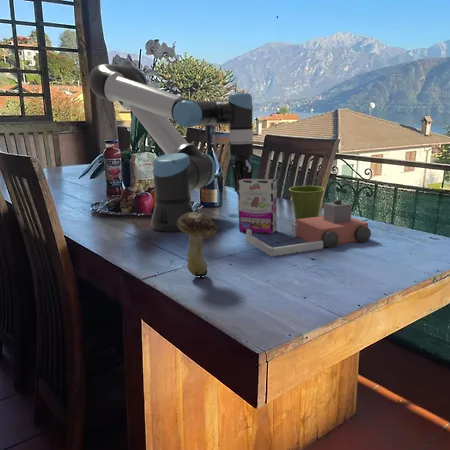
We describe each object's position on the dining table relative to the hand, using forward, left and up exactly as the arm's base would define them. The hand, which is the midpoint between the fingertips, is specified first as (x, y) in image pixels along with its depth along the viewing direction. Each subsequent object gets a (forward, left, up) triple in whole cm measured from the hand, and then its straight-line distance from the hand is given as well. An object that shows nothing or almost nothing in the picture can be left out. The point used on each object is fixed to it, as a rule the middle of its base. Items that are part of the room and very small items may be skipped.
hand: (242, 213), depth 152 cm
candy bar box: (0, -12, -3) cm, 12 cm away
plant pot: (+20, -8, -3) cm, 22 cm away
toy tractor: (+8, -28, -3) cm, 29 cm away
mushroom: (-30, -42, -3) cm, 52 cm away
